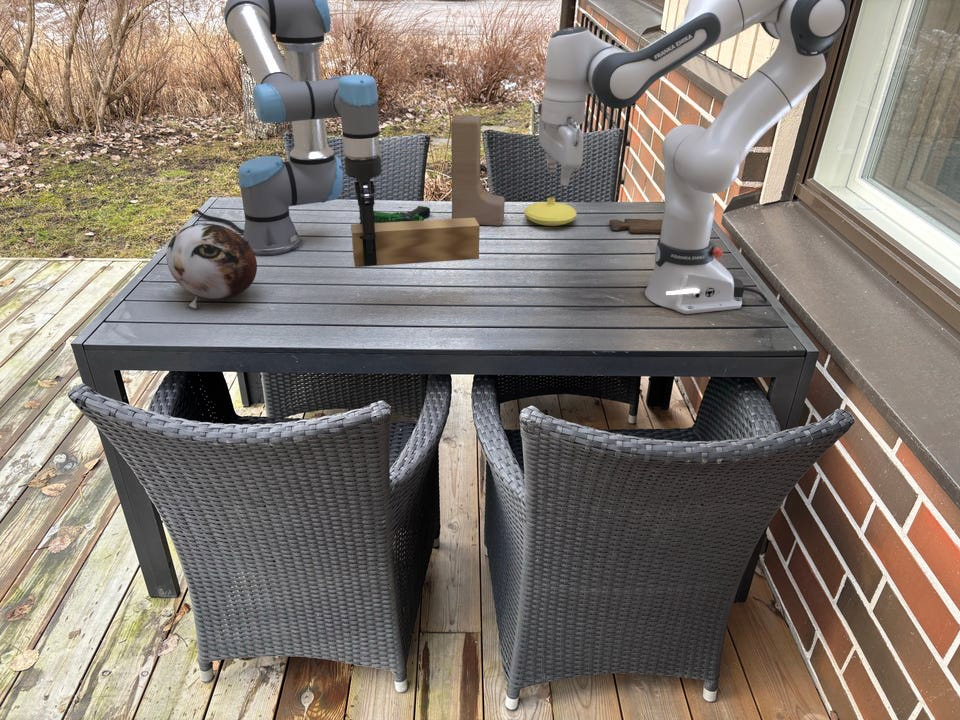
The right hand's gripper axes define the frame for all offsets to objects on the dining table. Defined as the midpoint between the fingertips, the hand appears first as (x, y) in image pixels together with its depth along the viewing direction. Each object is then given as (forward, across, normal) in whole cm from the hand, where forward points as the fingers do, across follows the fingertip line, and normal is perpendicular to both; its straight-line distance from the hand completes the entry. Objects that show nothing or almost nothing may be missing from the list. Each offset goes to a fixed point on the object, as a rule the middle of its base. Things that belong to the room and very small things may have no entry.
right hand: (557, 178), depth 156 cm
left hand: (+18, +3, +41) cm, 45 cm away
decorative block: (+29, +55, +6) cm, 62 cm away
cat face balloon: (+30, +15, +77) cm, 84 cm away
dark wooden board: (+28, +40, -44) cm, 66 cm away
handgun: (+30, +60, +28) cm, 73 cm away
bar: (+18, +3, +31) cm, 36 cm away
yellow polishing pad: (+29, +50, -16) cm, 60 cm away
